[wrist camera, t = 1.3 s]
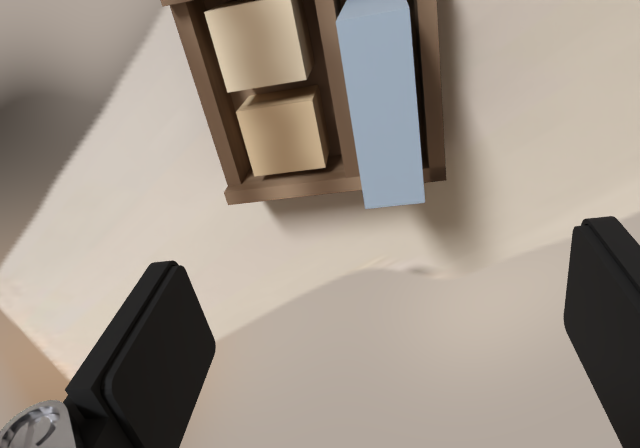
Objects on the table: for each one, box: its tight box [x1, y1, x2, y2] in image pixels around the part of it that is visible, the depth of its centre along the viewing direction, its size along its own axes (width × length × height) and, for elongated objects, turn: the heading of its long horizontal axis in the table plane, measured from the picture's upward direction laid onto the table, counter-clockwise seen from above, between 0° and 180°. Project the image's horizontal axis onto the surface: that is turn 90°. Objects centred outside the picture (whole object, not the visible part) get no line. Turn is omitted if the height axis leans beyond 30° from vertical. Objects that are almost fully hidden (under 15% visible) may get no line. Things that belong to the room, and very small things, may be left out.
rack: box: [161, 0, 446, 205], centre depth 30 cm, size 15×14×5 cm
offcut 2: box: [236, 85, 330, 177], centre depth 32 cm, size 5×5×4 cm
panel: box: [336, 0, 425, 209], centre depth 26 cm, size 3×9×11 cm, turn 11°
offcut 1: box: [204, 0, 315, 93], centre depth 29 cm, size 5×5×4 cm
